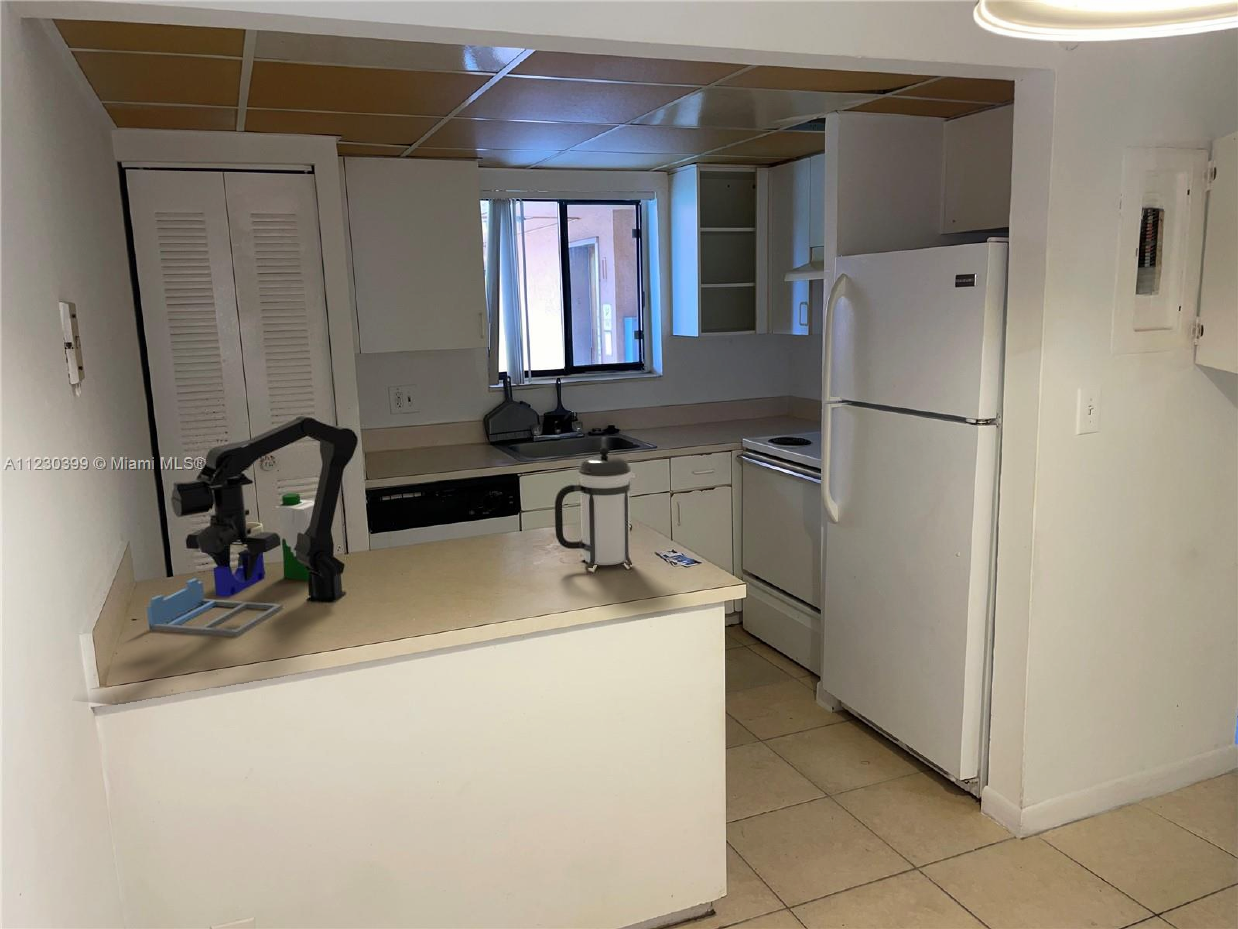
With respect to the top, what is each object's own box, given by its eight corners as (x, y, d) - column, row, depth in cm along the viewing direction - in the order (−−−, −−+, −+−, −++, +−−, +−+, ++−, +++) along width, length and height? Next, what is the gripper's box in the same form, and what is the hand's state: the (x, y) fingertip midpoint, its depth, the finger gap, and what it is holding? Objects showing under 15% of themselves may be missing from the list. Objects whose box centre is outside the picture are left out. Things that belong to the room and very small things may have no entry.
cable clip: (246, 577, 192) (243, 550, 191) (264, 578, 191) (262, 551, 190) (209, 596, 181) (206, 568, 180) (229, 597, 180) (226, 569, 179)
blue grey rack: (282, 608, 194) (280, 581, 193) (237, 636, 179) (234, 607, 178) (200, 602, 199) (198, 576, 197) (149, 629, 183) (146, 601, 182)
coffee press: (597, 551, 233) (594, 439, 227) (647, 561, 224) (646, 445, 218) (554, 569, 219) (551, 449, 213) (606, 580, 210) (604, 456, 204)
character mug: (269, 581, 213) (264, 529, 210) (237, 586, 210) (231, 533, 207) (265, 569, 222) (260, 519, 220) (234, 573, 219) (229, 522, 217)
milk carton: (301, 568, 223) (294, 490, 219) (331, 571, 220) (325, 492, 216) (277, 579, 214) (270, 498, 211) (309, 582, 212) (302, 501, 208)
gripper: (162, 515, 177) (171, 590, 180) (245, 519, 173) (253, 595, 176) (199, 502, 188) (207, 572, 191) (278, 506, 184) (285, 577, 187)
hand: (237, 580), depth 186 cm, fingers closed on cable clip, 4 cm apart
